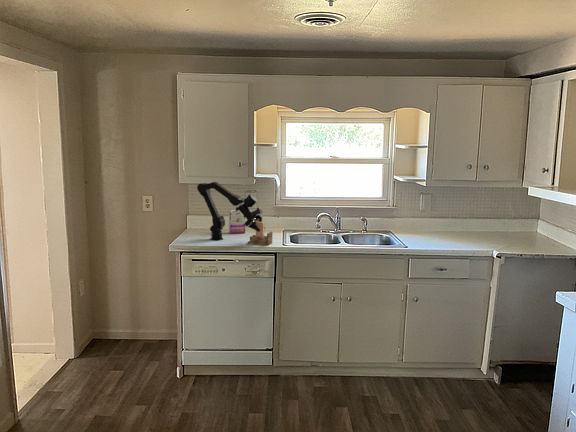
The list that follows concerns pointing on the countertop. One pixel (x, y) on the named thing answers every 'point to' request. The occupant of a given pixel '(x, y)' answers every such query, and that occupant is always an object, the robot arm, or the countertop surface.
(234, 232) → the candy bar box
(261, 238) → the drying rack
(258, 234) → the clay strip
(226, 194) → the robot arm
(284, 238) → the countertop surface
